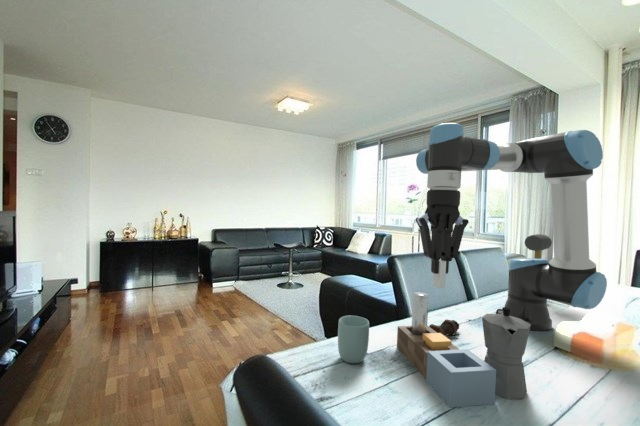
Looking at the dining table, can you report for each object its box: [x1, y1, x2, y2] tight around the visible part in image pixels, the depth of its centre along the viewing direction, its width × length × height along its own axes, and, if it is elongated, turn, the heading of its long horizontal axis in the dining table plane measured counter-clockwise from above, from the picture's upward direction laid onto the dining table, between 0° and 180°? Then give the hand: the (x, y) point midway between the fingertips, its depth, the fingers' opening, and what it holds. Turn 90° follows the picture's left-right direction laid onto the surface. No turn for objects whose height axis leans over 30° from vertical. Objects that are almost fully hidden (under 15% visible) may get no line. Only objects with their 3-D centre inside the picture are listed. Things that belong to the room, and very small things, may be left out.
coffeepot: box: [481, 306, 531, 401], centre depth 69 cm, size 15×9×18 cm, turn 159°
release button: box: [423, 333, 453, 350], centre depth 75 cm, size 5×5×7 cm
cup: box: [337, 315, 370, 364], centre depth 79 cm, size 8×8×10 cm
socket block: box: [396, 324, 461, 380], centre depth 79 cm, size 9×16×6 cm, turn 10°
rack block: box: [425, 348, 496, 408], centre depth 66 cm, size 10×9×7 cm
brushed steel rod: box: [411, 291, 430, 336], centre depth 84 cm, size 4×4×16 cm
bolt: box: [428, 319, 460, 337], centre depth 96 cm, size 6×5×15 cm
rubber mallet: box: [524, 233, 553, 259], centre depth 141 cm, size 12×8×30 cm, turn 125°
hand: (438, 286), depth 75 cm, fingers closed
